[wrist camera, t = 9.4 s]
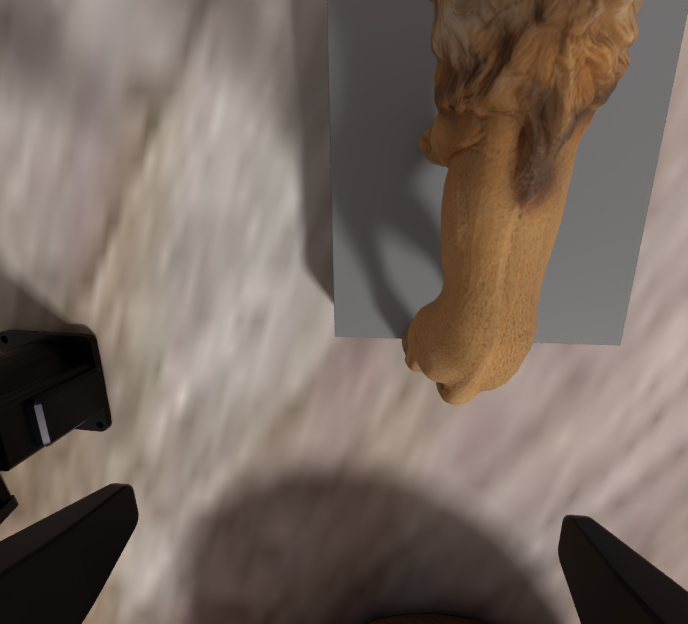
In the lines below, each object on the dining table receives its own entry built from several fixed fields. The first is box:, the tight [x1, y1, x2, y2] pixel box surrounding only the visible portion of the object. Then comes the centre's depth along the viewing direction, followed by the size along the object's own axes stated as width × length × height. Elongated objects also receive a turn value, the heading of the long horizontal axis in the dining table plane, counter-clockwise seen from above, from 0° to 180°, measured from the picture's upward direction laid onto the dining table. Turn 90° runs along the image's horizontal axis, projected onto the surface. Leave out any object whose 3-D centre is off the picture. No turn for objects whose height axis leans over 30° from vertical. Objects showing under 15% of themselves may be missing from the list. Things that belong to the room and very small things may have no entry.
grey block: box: [327, 0, 688, 345], centre depth 16 cm, size 12×14×4 cm
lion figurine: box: [402, 0, 643, 405], centre depth 10 cm, size 15×5×9 cm, turn 6°
